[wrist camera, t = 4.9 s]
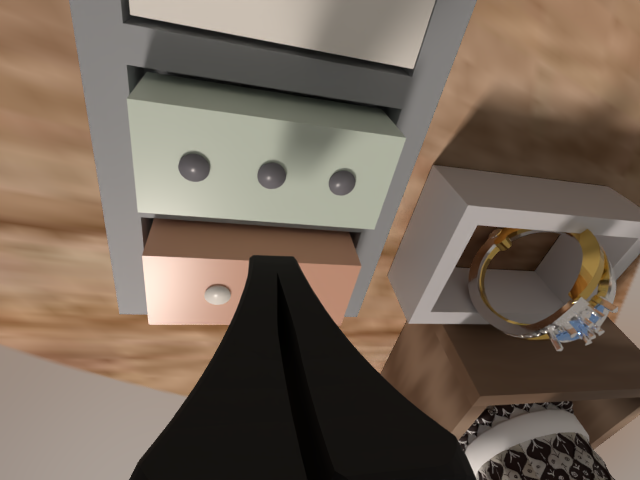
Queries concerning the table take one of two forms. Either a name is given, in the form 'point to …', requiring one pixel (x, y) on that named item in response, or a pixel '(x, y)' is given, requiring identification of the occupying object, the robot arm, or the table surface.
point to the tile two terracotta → (237, 267)
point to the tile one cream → (309, 23)
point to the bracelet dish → (512, 212)
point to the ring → (578, 313)
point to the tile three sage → (258, 154)
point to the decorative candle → (531, 444)
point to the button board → (251, 72)
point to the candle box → (515, 375)
